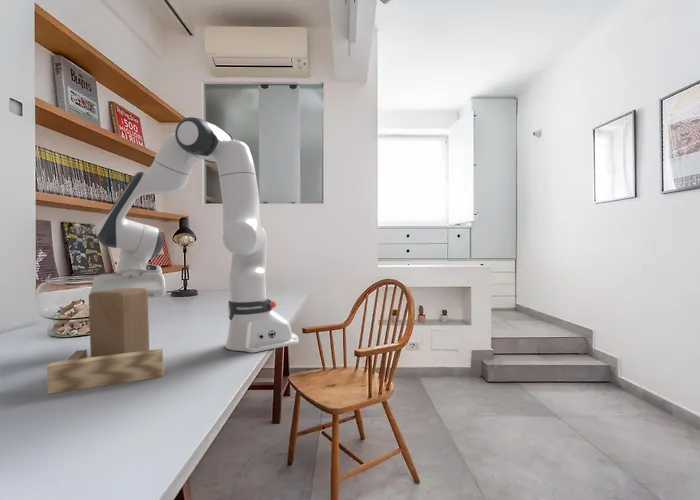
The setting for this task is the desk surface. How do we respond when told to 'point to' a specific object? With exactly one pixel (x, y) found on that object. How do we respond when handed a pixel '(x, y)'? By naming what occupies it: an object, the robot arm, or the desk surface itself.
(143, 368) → the tan wooden slab
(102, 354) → the block
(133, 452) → the desk surface
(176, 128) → the robot arm
